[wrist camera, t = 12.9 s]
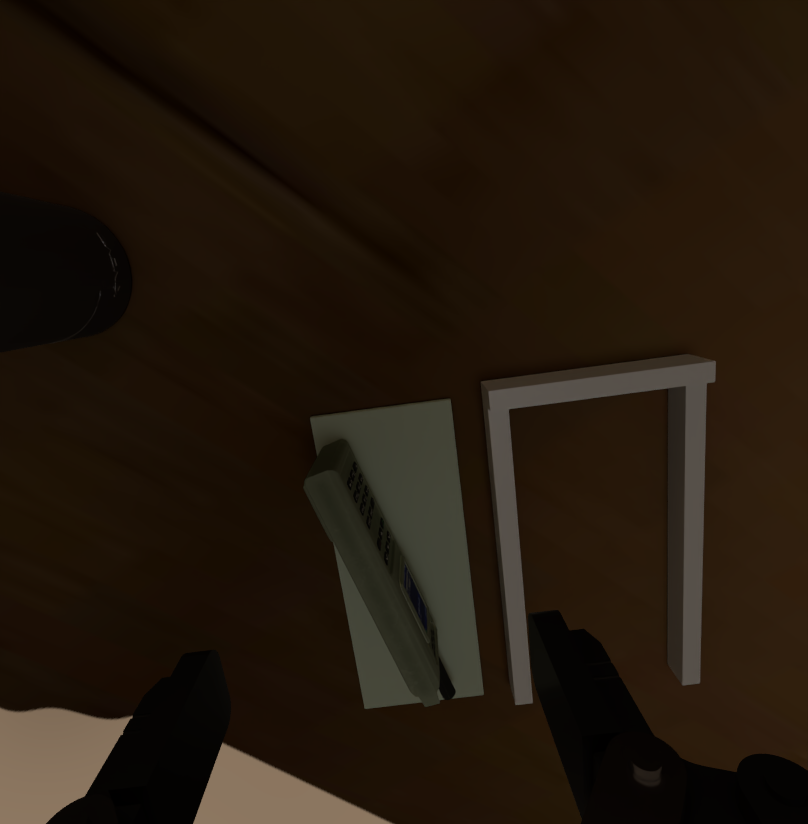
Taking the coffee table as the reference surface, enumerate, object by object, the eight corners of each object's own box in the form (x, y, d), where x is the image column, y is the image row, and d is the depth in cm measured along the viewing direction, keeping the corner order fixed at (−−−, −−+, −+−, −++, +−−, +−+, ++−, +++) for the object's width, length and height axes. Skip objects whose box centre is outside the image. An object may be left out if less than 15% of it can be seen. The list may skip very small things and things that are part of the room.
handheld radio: (351, 434, 39) (466, 677, 45) (313, 449, 40) (432, 688, 46) (338, 465, 33) (474, 744, 39) (293, 483, 33) (435, 756, 39)
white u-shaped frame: (509, 682, 46) (518, 714, 43) (480, 381, 39) (488, 391, 35) (683, 661, 46) (706, 692, 42) (687, 353, 39) (715, 361, 35)
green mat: (365, 704, 47) (364, 708, 46) (311, 416, 39) (309, 418, 39) (482, 690, 46) (483, 694, 46) (449, 398, 39) (450, 399, 39)
